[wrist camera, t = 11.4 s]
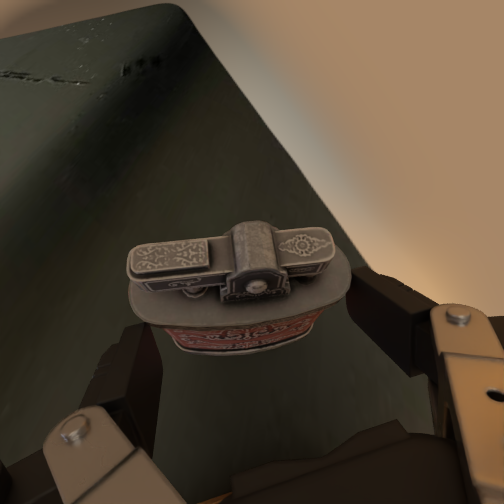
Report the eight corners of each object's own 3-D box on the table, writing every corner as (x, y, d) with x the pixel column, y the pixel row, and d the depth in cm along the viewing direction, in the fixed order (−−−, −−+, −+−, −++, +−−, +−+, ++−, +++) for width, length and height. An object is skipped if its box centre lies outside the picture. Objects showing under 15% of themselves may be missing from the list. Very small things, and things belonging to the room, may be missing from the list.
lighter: (304, 289, 18) (360, 185, 9) (316, 345, 17) (397, 284, 8) (174, 304, 18) (101, 208, 9) (174, 363, 16) (87, 321, 7)
